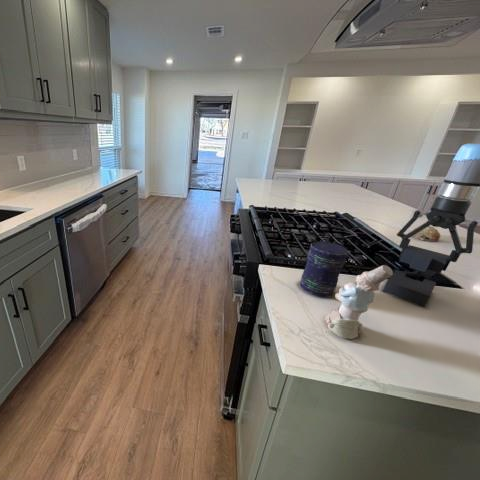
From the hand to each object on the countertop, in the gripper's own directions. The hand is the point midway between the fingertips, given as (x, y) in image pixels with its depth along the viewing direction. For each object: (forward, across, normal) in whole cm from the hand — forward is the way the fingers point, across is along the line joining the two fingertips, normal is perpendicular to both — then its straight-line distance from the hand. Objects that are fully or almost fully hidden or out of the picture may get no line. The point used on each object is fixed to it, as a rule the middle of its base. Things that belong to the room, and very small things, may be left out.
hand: (421, 262), depth 85 cm
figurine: (+8, +7, +46) cm, 47 cm away
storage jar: (+8, +19, +32) cm, 38 cm away
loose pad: (0, 0, +2) cm, 2 cm away
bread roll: (+8, +5, -61) cm, 61 cm away
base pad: (+8, 0, +10) cm, 13 cm away
